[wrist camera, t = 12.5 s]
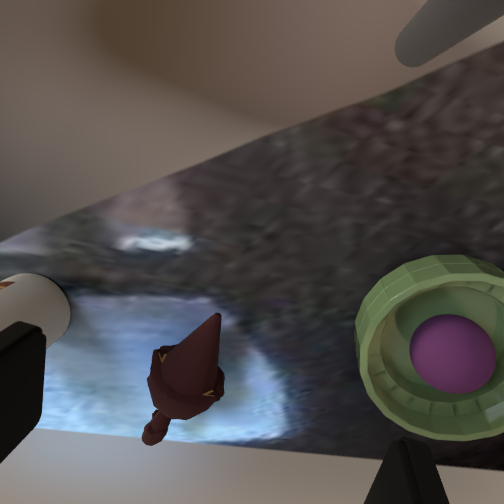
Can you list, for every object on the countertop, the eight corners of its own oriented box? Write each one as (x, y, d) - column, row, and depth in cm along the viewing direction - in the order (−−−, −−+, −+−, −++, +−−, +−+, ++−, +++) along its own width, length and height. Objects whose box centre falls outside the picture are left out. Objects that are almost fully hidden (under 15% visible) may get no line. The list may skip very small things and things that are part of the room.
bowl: (387, 231, 32) (399, 249, 27) (562, 281, 31) (607, 308, 26) (333, 372, 36) (335, 408, 32) (483, 419, 35) (509, 463, 31)
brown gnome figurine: (158, 304, 30) (107, 426, 36) (235, 361, 28) (168, 479, 34) (204, 277, 36) (154, 385, 42) (270, 323, 34) (208, 429, 40)
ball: (419, 292, 32) (438, 327, 27) (491, 314, 32) (527, 354, 26) (392, 351, 34) (405, 395, 29) (460, 373, 34) (487, 422, 28)
